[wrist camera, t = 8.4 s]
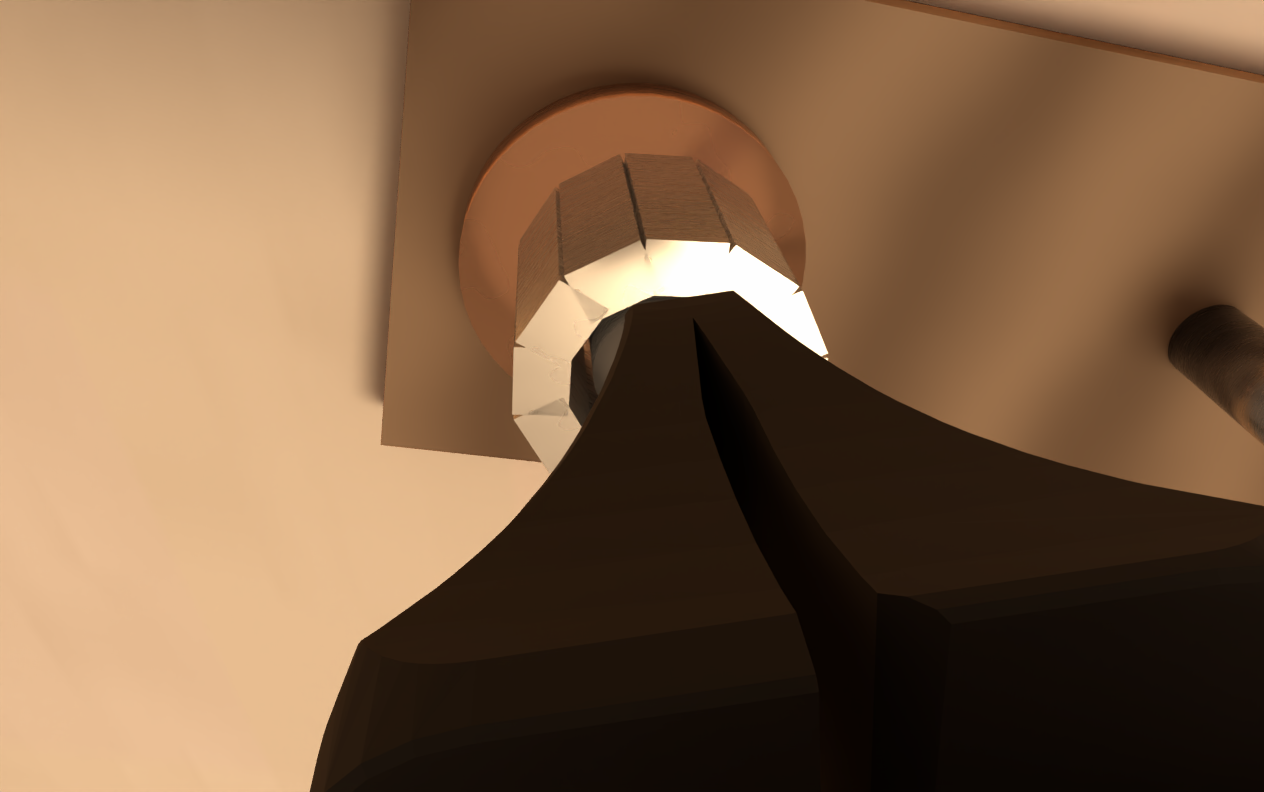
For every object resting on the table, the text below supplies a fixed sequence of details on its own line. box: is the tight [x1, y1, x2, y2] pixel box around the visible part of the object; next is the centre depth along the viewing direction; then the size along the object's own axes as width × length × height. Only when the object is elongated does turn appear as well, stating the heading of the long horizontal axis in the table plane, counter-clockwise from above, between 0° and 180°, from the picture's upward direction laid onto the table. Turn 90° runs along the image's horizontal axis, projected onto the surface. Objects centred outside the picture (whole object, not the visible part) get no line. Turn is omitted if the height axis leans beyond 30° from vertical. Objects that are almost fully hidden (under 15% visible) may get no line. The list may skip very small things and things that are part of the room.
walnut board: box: [381, 0, 1264, 506], centre depth 21 cm, size 23×11×2 cm, turn 79°
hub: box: [458, 83, 806, 396], centre depth 17 cm, size 7×7×5 cm
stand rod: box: [1168, 305, 1264, 446], centre depth 20 cm, size 2×2×4 cm
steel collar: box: [512, 153, 828, 473], centre depth 17 cm, size 5×5×4 cm
